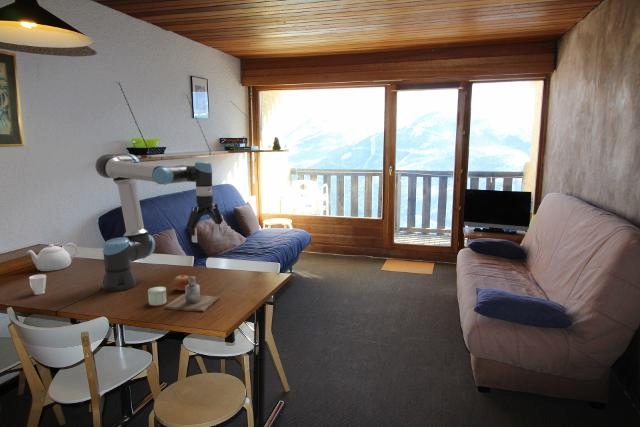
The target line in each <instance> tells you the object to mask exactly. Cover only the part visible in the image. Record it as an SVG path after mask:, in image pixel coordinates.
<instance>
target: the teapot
mask: <svg viewBox="0 0 640 427" xmlns="http://www.w3.org/2000/svg"><path fill="white" fill-rule="evenodd" d="M68 246H73V247H74V248H75V252H74V254H73V255H72V256H71V255H70V253H69V252H68V249H67V247H68ZM78 252H79V250H78V247H77V245H76V244H74V243H72V242H68V243H67V244H65V245H64V247H63V246H58V245H54V244H53V243H50V244H48V246H46V247H44V248H43V249H41V250H40V251H39V252H38V254H36V253H35V252H34V251H33V250H32V249H29V250H27V251H26V254H29V255H30V256H31V260H32V262H33V264H34V265H35V267H36V269H37V271H39V270H40V271H39V272H54V270H55V271H60V270H63V269H67V268H68V267H69V266H71V263H72V262H73V259H74V258H75V257H76V256H77V255H78Z"/></svg>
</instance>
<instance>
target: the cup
mask: <svg viewBox="0 0 640 427" xmlns="http://www.w3.org/2000/svg"><path fill="white" fill-rule="evenodd" d="M28 279H29V286H30V288H31V289H32V291H33V294H34V295H42V294H45V291H46V282H47V275H46V274H42V273H41V274H34V275H31V276H29V277H28Z"/></svg>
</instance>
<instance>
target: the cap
mask: <svg viewBox="0 0 640 427" xmlns="http://www.w3.org/2000/svg"><path fill="white" fill-rule="evenodd" d="M147 295H148V304H149V305H150V306H162V305H164V304H166V303H167V301H168V300H167V288H166V287H165V286H154V287H150V288H148V289H147Z"/></svg>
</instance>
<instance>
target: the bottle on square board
mask: <svg viewBox="0 0 640 427" xmlns="http://www.w3.org/2000/svg"><path fill="white" fill-rule="evenodd" d="M188 277H189V285H186V286H185V290H184V292H185V293H182V294H181V295H180V296H178V297H177V298H175V299H174V300H172V301H171V302H168V303H167V304H166V305H164V309H165V310H166V309H167V310H178V311H188V312H198V311H203V312H202V313H204V312H205V311H207V310H208V309H209V308H210V307H212V306H213V305H214V304H215V303H214V302H216V301H217V300H218V299H219V298H220V299H221V296H216V295H215V296H214V295H204V294H203V295H202V294H201V292H200V291H201V290H200V284H198V283H196V276H194V275H191V276H188ZM220 299H219V300H220ZM219 300H218V301H219ZM218 301H217V302H218ZM217 302H216V303H217ZM213 303H214V304H213ZM212 304H213V305H212ZM211 305H212V306H211ZM209 306H210V307H209ZM208 307H209V308H208ZM207 308H208V309H207ZM206 309H207V310H206Z"/></svg>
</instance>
